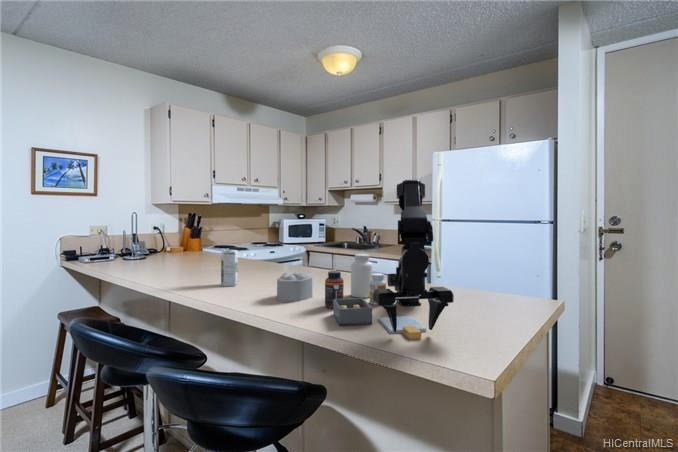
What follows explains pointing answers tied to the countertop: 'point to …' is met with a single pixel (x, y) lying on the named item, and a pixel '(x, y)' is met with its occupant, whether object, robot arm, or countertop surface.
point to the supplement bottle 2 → (376, 285)
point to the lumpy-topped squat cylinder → (294, 287)
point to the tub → (352, 312)
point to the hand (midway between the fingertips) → (412, 330)
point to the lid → (404, 326)
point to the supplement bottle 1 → (333, 288)
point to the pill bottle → (361, 276)
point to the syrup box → (229, 268)
